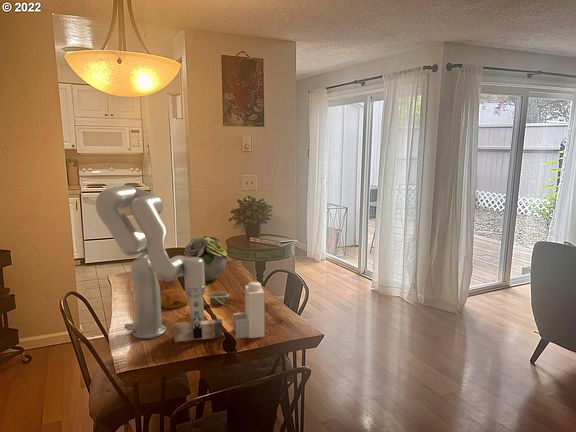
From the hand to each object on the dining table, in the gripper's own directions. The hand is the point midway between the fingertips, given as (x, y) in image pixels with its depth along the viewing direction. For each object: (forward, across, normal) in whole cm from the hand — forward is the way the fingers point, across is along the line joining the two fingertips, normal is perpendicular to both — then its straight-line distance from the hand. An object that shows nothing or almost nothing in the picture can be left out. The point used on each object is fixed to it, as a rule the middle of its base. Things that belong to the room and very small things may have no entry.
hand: (197, 332), depth 162 cm
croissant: (+2, +40, +10) cm, 41 cm away
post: (+3, 0, -20) cm, 20 cm away
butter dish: (+3, +34, -11) cm, 36 cm away
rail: (+2, 0, 0) cm, 2 cm away
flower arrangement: (+2, +75, -7) cm, 76 cm away
